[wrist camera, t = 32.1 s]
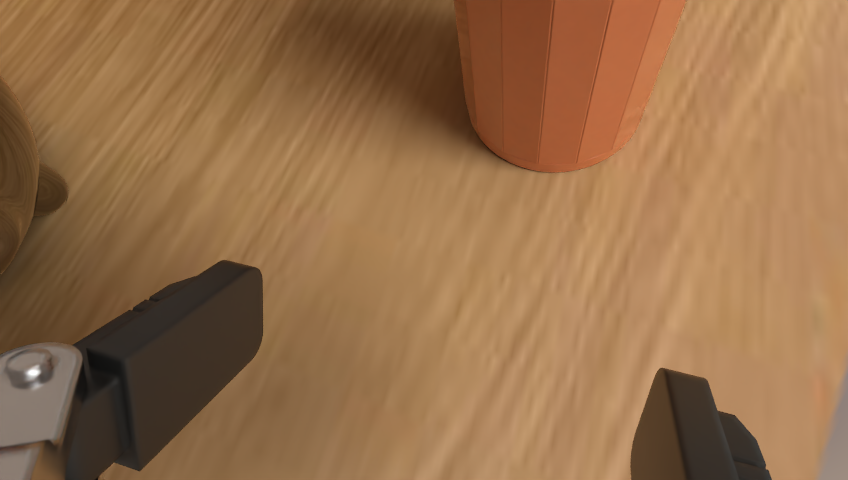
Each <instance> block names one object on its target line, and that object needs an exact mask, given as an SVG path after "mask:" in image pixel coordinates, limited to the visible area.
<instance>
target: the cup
mask: <svg viewBox="0 0 848 480" xmlns="http://www.w3.org/2000/svg"><path fill="white" fill-rule="evenodd" d="M686 3H687V0H454V6H455V14H456V23H457V32H458V40H459V49H460V58H461V66H462V75H463V84H464V92H465V101H466V106H467V108H468V112H469V117H470V120H471V123H472V126H473V128H474V129H475V131H476V133H477V135H478V136H479V137H480V139H481V140H482V141H483V143H484V144H485V145H486V146H487V147H488V148H489V149H490V150H492V151H493V152H494V153H496V154H497V155H498V156H499V157H501V158H503V159H505V160H506V161H508V162H510V163H513V164H515V165H517V166H520V167H523V168H527V169H530V170H536V171H542V172H568V171H573V170H579V169H582V168H586V167H589V166H592V165H594V164H597V163H599V162H601V161H603V160H605V159H607V158H608V157H610V156H612V155H613V154H614V153H616V152H617V151H618V150H620V149H621V148H622V147H623V146H624V145H625V144H626V143H627V142H628V141H629V140H630V138H631V137H632V135H633V134H634V133H635V131H636V129H637V127H638V125H639V123H640V121H641V119H642V116H643V113H644V111H645V109H646V106H647V104H648V101H649V99H650V96H651V94H652V91H653V89H654V86H655V83H656V81H657V78H658V76H659V73H660V70H661V68H662V65H663V63H664V60H665V57H666V55H667V52H668V50H669V47H670V44H671V42H672V39H673V37H674V34H675V31H676V29H677V26H678V24H679V21H680V18H681V16H682V13H683V11H684V8H685V5H686Z"/></svg>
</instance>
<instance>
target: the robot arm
mask: <svg viewBox="0 0 848 480" xmlns="http://www.w3.org/2000/svg"><path fill="white" fill-rule="evenodd" d="M262 336H263V283H262V274H261V272H260V270H259V269H258V268H256V267H252V266H248V265H243V264H239V263H235V262H231V261H227V260H222V261H220V262H218V263H216V264H215V265H213V266H212V267H210V268H209V269H207V270H206V271H204V272H202V273H201V274H199V275H198V276H196V277H195V276H194V277H191V278H188V279H185V280H182V281H179V282H176V283H173V284H170V285H168V286H167V287H165V288H163V289H162V290H160V291H159V292H157V293H155V294H154V295H152V296H151V297H150V299H149V300H144V301H143V302H141V303H139V304H138V305H136V306H135V307H133V310H132V311H131V310H128V311H127V312H125V313H123V314H122V315H120V316H119V317H117V318H115V319H114V320H112V321H111V322H109V323H107V324H106V325H104V326H103V327H101V328H99V329H98V330H96V331H95V332H93V333H91V334H90V335H88V336H87V337H85V338H83V339H82V340H80V341H79V342H77V343H75V344H74V345H72V346H71V345H68V344H65V343H57V342H46V343H36V344H30V345H26V346H22V347H18V348H15V349H12V350H10V351H7V352H5V353H3V354H1V355H0V480H104V477H103V472H104V471H105V470H106V469H107V468H108V467H109V466H110V465H111V464H112V463H113V462H115V463H118V464H120V465H123V466H126V467H129V468H132V469H135V470H137V471H141V470H142V469H143V468H144V467H145V466H146V465H147V464H148V463H149V462H150V461H151V460H152V459H153V458H154V457H155V456H156V455H157V454H158V453H159V452H160V451H161V450H162V449H163V448H164V447H165V446H166V445H167V444H168V443H169V442H170V441H171V440H172V439H173V438H174V437H175V436H176V435H177V434H178V433H179V432H180V431H181V430H182V429H183V428H184V427H185V426H186V425H187V424H188V423H189V422H190V421H191V420H192V419H193V418H194V417H195V416H196V415H197V414H198V413H199V412H200V411H201V410H202V409H203V408H204V407H205V406H206V405H207V404H208V403H209V402H210V401H211V400H212V399H213V398H214V397H215V396H216V395H217V394H218V393H219V392H220V391H221V390H222V389H223V388H224V387H225V386H226V385H227V384H228V383H229V382H230V381H231V380H232V379H233V378H234V377H235V376H236V375H237V374H238V373H239V372H240V371H241V370H242V369H243V368H244V367H245V366H246V365H247V364H248V363H249V362H250V361H251V360H252V359H253V358H254V356H255V355H256V353H257V351H258V349H259V347H260V344H261V341H262ZM765 467H766V464H765V461H764V458H763V456H762V453H761V451H760V448H759V446H758V443H757V441H756V439H755V438H754V437H753V436H752V434H751V433H750V432H749V431H748V430H747V429H746V428H745V426H744V425H743V424H742V423H741V422H740V421H739V420H738V418H737V417H736V416H735V415H732V414H728V413H724V412H720V411H717V408H716V405H715V402H714V399H713V396H712V393H711V390H710V387H709V384H708V381H707V380H706V379H705V378H702V377H697V376H693V375H689V374H685V373H681V372H677V371H673V370H669V369H665V368H660V369H659V370H658V371H657V373H656V375H655V378H654V380H653V383H652V386H651V389H650V392H649V395H648V398H647V401H646V404H645V407H644V410H643V413H642V415H641V418H640V421H639V424H638V427H637V430H636V433H635V437H634V441H633V446H632V452H631V480H772V479H771V476H770V474H769V471H768V470H766V469H765Z"/></svg>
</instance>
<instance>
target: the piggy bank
mask: <svg viewBox="0 0 848 480" xmlns="http://www.w3.org/2000/svg"><path fill="white" fill-rule="evenodd" d="M67 196H68V186H67V184H66V182H65V180H64V179H63V178H62V177H61V176H60V175H59V174H57V173H56V172H55V171H53V170H52V169H51V168H49V167H48V166H46V165H45V164H43V163H42V162H41V161H39V157H38V151H37V146H36V141H35V138H34V134H33V131H32V129H31V126H30V123H29V121H28V118H27V116H26V114H25V112H24V110H23V108H22V106H21V104H20V103H19V101H18V99H17V98H16V96H15V94H14V93H13V92H12V90H11V89H10V87H9V86H8V84H7V83H6V82H5V80H4V79H3V78H2V76H1V75H0V275H1V274H2V273H3V272H4V270H5V269H6V268H7V267H8V266H9V264H10V263H11V262H12V260H13V259H14V257H15V255H16V253H17V251H18V249H19V246H20V244H21V242H22V240H23V239H24V237H25V235H26V233H27V231H28V228H29V226H30V223H31V221H32V218H33V215H34V216H44V215H49V214H51V213H54V212H56V211H57V210H58V209H59V208H60V207H61V206H62V205H63V204H64V203H65V201H66V200H67Z"/></svg>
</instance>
